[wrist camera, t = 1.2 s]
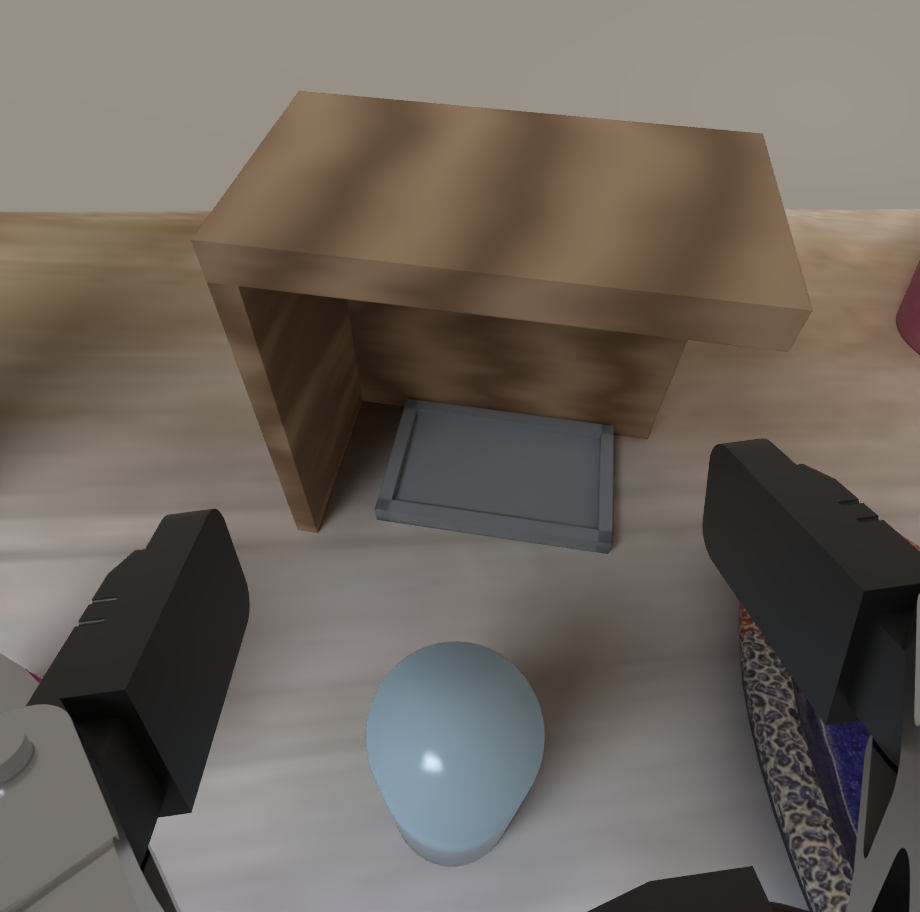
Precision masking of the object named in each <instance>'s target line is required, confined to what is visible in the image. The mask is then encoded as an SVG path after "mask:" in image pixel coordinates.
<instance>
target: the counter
mask: <svg viewBox="0 0 920 912" xmlns="http://www.w3.org/2000/svg"><path fill="white" fill-rule="evenodd" d="M191 240H192V243H193V246H194V248H195V251H196V254H197V256H198V259H199V262H200V265H201V267H202V270H203V273H204V275H205V278H206V281H207V284H208V286H209V289H210V292H211V294H212V297H213V300H214V303H215V305H216V308H217V311H218V314H219V316H220V319H221V322H222V324H223V327H224V330H225V333H226V335H227V338H228V341H229V343H230V346H231V349H232V352H233V354H234V357H235V360H236V362H237V365H238V368H239V371H240V373H241V376H242V379H243V382H244V384H245V387H246V390H247V392H248V395H249V398H250V401H251V403H252V406H253V409H254V411H255V414H256V417H257V420H258V422H259V425H260V428H261V430H262V433H263V436H264V439H265V441H266V444H267V447H268V450H269V452H270V455H271V458H272V460H273V463H274V466H275V469H276V471H277V474H278V477H279V479H280V482H281V485H282V488H283V490H284V493H285V496H286V498H287V501H288V504H289V507H290V509H291V512H292V515H293V518H294V520H295V523H296V526H297V528H298V530H303V531H310V532H318V529H319V526H320V523H321V520H322V518H323V515H324V512H325V509H326V506H327V503H328V500H329V497H330V494H331V491H332V488H333V486H334V483H335V480H336V477H337V474H338V471H339V468H340V465H341V462H342V459H343V456H344V454H345V451H346V448H347V445H348V442H349V439H350V436H351V433H352V430H353V427H354V424H355V422H356V419H357V416H358V413H359V410H360V407H361V404H362V401H366V402H374V403H381V404H389V405H396V406H404V407H405V403H406V400H407V399H414V400H421V401H429V402H436V403H444V404H452V405H459V406H467V407H474V408H482V409H490V410H497V411H505V412H512V413H520V414H527V415H535V416H543V417H550V418H558V419H565V420H573V421H581V422H588V423H596V424H603V425H611V426H614V434H615V435H622V436H630V437H637V438H645V439H647V438H648V436H649V433H650V431H651V428H652V426H653V423H654V421H655V418H656V416H657V414H658V411H659V409H660V406H661V404H662V401H663V399H664V396H665V394H666V392H667V389H668V387H669V384H670V382H671V379H672V377H673V374H674V372H675V370H676V367H677V365H678V362H679V360H680V357H681V355H682V353H683V350H684V348H685V345H686V343H687V340H694V341H702V342H711V343H719V344H727V345H736V346H744V347H753V348H761V349H769V350H778V351H786V352H788V351H789V349H790V348H791V346H792V344H793V343H794V341H795V339H796V338H797V336H798V334H799V333H800V331H801V329H802V327H803V326H804V324H805V322H806V321H807V319H808V317H809V316H810V314H811V312H812V311H813V310H812V307H811V303H810V300H809V296H808V293H807V289H806V285H805V282H804V278H803V275H802V271H801V268H800V264H799V261H798V257H797V253H796V250H795V246H794V243H793V239H792V236H791V232H790V229H789V225H788V221H787V218H786V214H785V211H784V207H783V204H782V201H781V196H780V193H779V189H778V186H777V182H776V179H775V175H774V172H773V168H772V164H771V161H770V157H769V154H768V150H767V147H766V144H765V140H764V136H763V134H760V133H750V132H739V131H728V130H716V129H706V128H695V127H684V126H674V125H663V124H662V125H661V124H652V123H641V122H630V121H620V120H608V119H598V118H587V117H576V116H565V115H555V114H544V113H533V112H521V111H511V110H500V109H490V108H489V109H488V108H479V107H468V106H457V105H446V104H435V103H425V102H414V101H403V100H391V99H381V98H370V97H359V96H348V95H338V94H327V93H316V92H305V91H298V93H297V94H296V96H295V97H294V98H293V100H292V101H291V102H290V104H289V105H288V107H287V108H286V110H285V111H284V112H283V114H282V115H281V116H280V118H279V119H278V120H277V122H276V123H275V125H274V126H273V127H272V129H271V130H270V132H269V133H268V134H267V136H266V137H265V139H264V140H263V141H262V143H261V144H260V145H259V147H258V148H257V150H256V151H255V152H254V154H253V155H252V156H251V158H250V159H249V161H248V162H247V164H246V165H245V166H244V168H243V169H242V171H241V172H240V173H239V174H238V176H237V177H236V179H235V180H234V181H233V183H232V184H231V185H230V187H229V188H228V190H227V191H226V192H225V194H224V196H223V197H222V198H221V199H220V201H219V202H218V203H217V205H216V206H215V208H214V209H213V210H212V212H211V213H210V215H209V216H208V217H207V219H206V220H205V221H204V223H203V224H202V226H201V227H200V228H199V230H198V231H197V233H196V234H195V235H194V237H193V238H192V239H191Z"/></svg>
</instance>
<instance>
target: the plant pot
mask: <svg viewBox="0 0 920 912" xmlns="http://www.w3.org/2000/svg"><path fill="white" fill-rule="evenodd" d="M896 321H897V326H898V329H899V332H900V334H901V335H902V337H903V338H904V340H905V341H906V342H907V343H908V344H909V345H910V346H911V347H912V348H913V349H914V350H915V351H916V352H918V353H919V354H920V261H919V264H918V266H917V268H916V271H915V273H914V275H913V278H912V280H911V283H910V285H909V287H908V290H907V292H906V295H905V297H904V299H903V301H902V304H901V306H900V308H899V310H898V313H897V318H896Z"/></svg>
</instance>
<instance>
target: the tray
mask: <svg viewBox="0 0 920 912" xmlns="http://www.w3.org/2000/svg"><path fill="white" fill-rule="evenodd" d="M613 446H614V426H611V425H603V424H596V423H588V422H581V421H573V420H565V419H558V418H550V417H543V416H535V415H527V414H520V413H512V412H505V411H497V410H490V409H482V408H474V407H467V406H459V405H452V404H444V403H436V402H429V401H421V400H414V399H407V400H406V403H405V407H404V410H403V414H402V417H401V421H400V424H399V428H398V431H397V435H396V438H395V442H394V445H393V449H392V452H391V455H390V459H389V462H388V466H387V469H386V473H385V476H384V480H383V483H382V487H381V490H380V494H379V497H378V501H377V504H376V508H375V511H376V517H377V520H384V521H391V522H397V523H404V524H411V525H418V526H424V527H431V528H438V529H445V530H451V531H458V532H465V533H472V534H478V535H485V536H492V537H499V538H505V539H512V540H519V541H525V542H532V543H539V544H546V545H552V546H559V547H566V548H573V549H579V550H586V551H593V552H600V553H606V554H608V552H609V550H610V548H611V545H612V521H613Z"/></svg>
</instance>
